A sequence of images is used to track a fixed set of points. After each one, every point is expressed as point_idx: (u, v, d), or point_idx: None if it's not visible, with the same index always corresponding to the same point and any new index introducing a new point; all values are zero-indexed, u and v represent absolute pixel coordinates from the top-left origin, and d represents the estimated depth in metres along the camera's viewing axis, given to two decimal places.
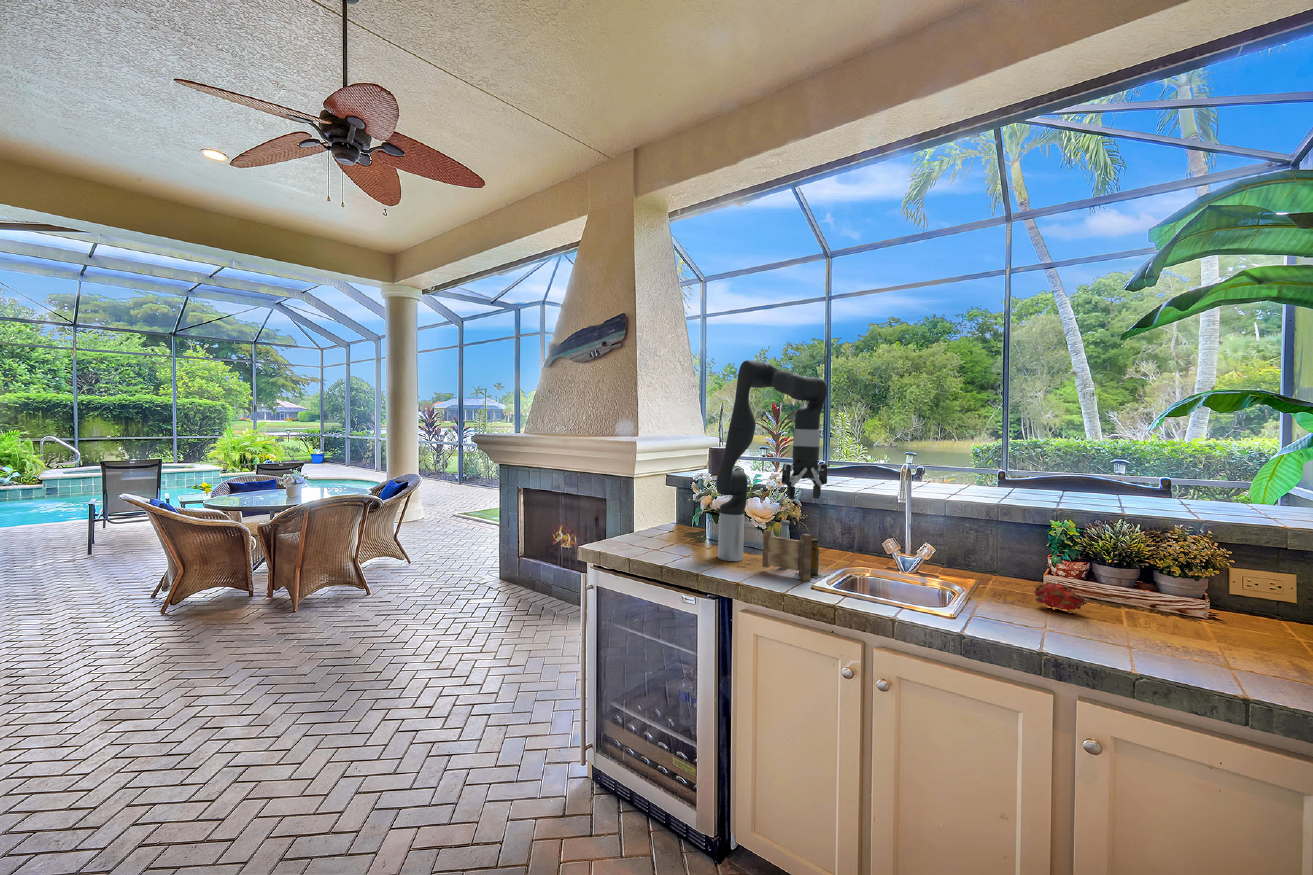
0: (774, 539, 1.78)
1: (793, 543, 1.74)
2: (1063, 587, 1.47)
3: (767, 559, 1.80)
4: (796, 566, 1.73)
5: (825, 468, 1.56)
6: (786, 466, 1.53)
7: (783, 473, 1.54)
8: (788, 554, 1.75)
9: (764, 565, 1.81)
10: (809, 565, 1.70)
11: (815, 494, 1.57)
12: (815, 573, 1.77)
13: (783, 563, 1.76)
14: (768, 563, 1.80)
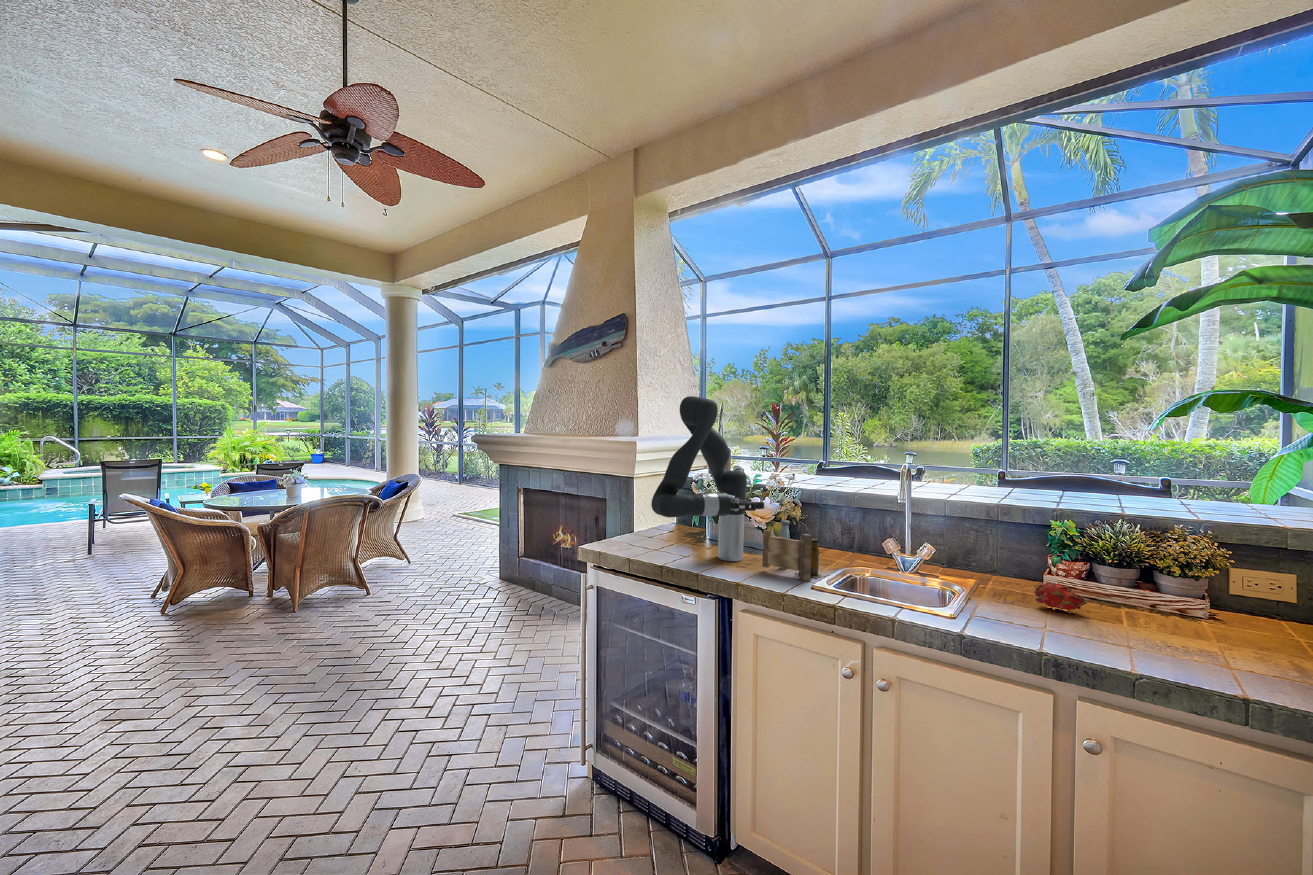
0: (774, 539, 1.78)
1: (793, 543, 1.74)
2: (1063, 587, 1.47)
3: (767, 559, 1.80)
4: (796, 566, 1.73)
5: (742, 510, 1.65)
6: None
7: None
8: (788, 554, 1.75)
9: (764, 565, 1.81)
10: (809, 565, 1.70)
11: None
12: (815, 573, 1.77)
13: (783, 563, 1.76)
14: (768, 563, 1.80)
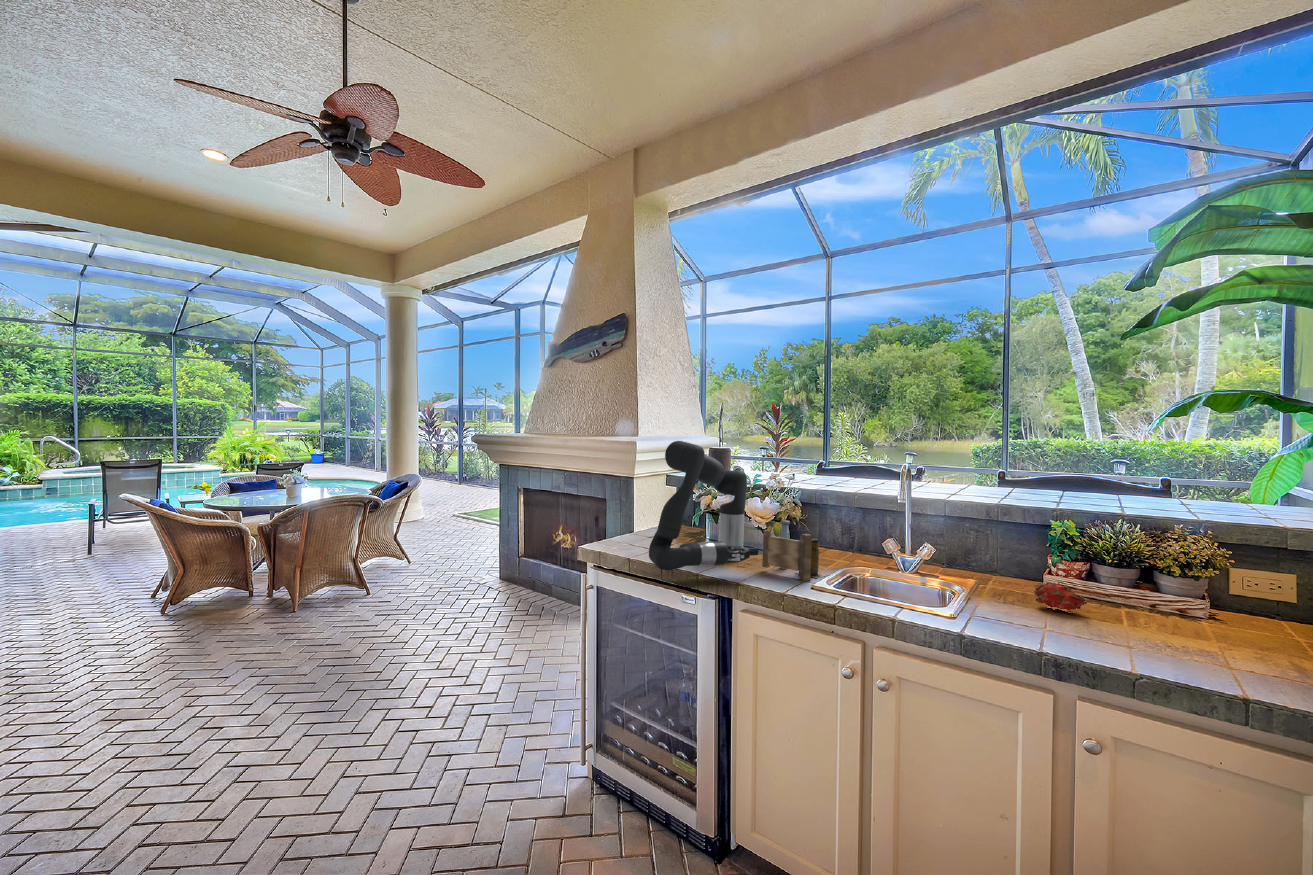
0: (774, 539, 1.78)
1: (793, 543, 1.74)
2: (1063, 587, 1.47)
3: (767, 559, 1.80)
4: (796, 566, 1.73)
5: None
6: None
7: None
8: (788, 554, 1.75)
9: (764, 565, 1.81)
10: (809, 565, 1.70)
11: None
12: (815, 573, 1.77)
13: (783, 563, 1.76)
14: (768, 563, 1.80)
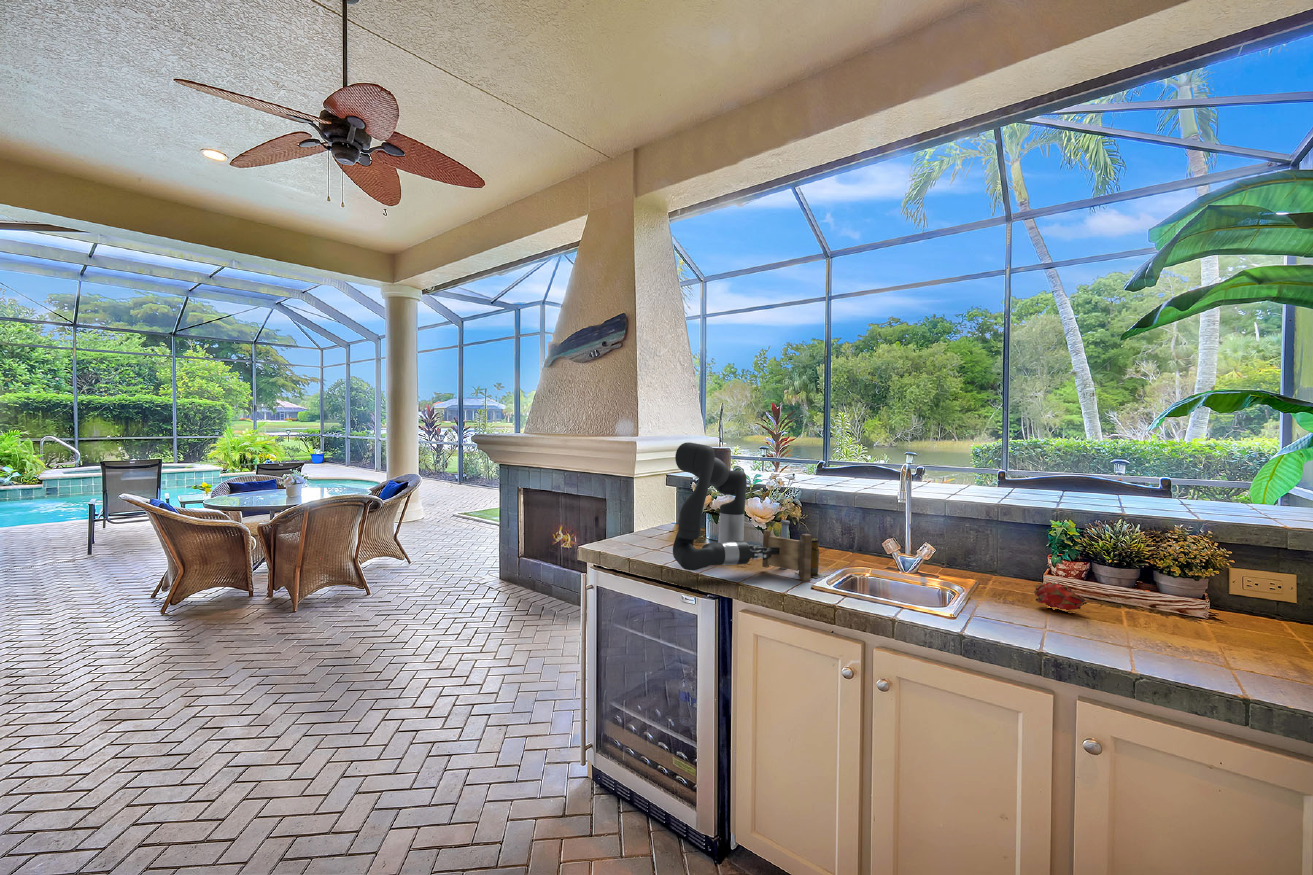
0: (774, 539, 1.78)
1: (793, 543, 1.74)
2: (1063, 587, 1.47)
3: (767, 559, 1.80)
4: (796, 566, 1.73)
5: None
6: None
7: None
8: (788, 554, 1.75)
9: (764, 565, 1.81)
10: (809, 565, 1.70)
11: None
12: (815, 573, 1.77)
13: (783, 563, 1.76)
14: (768, 563, 1.80)
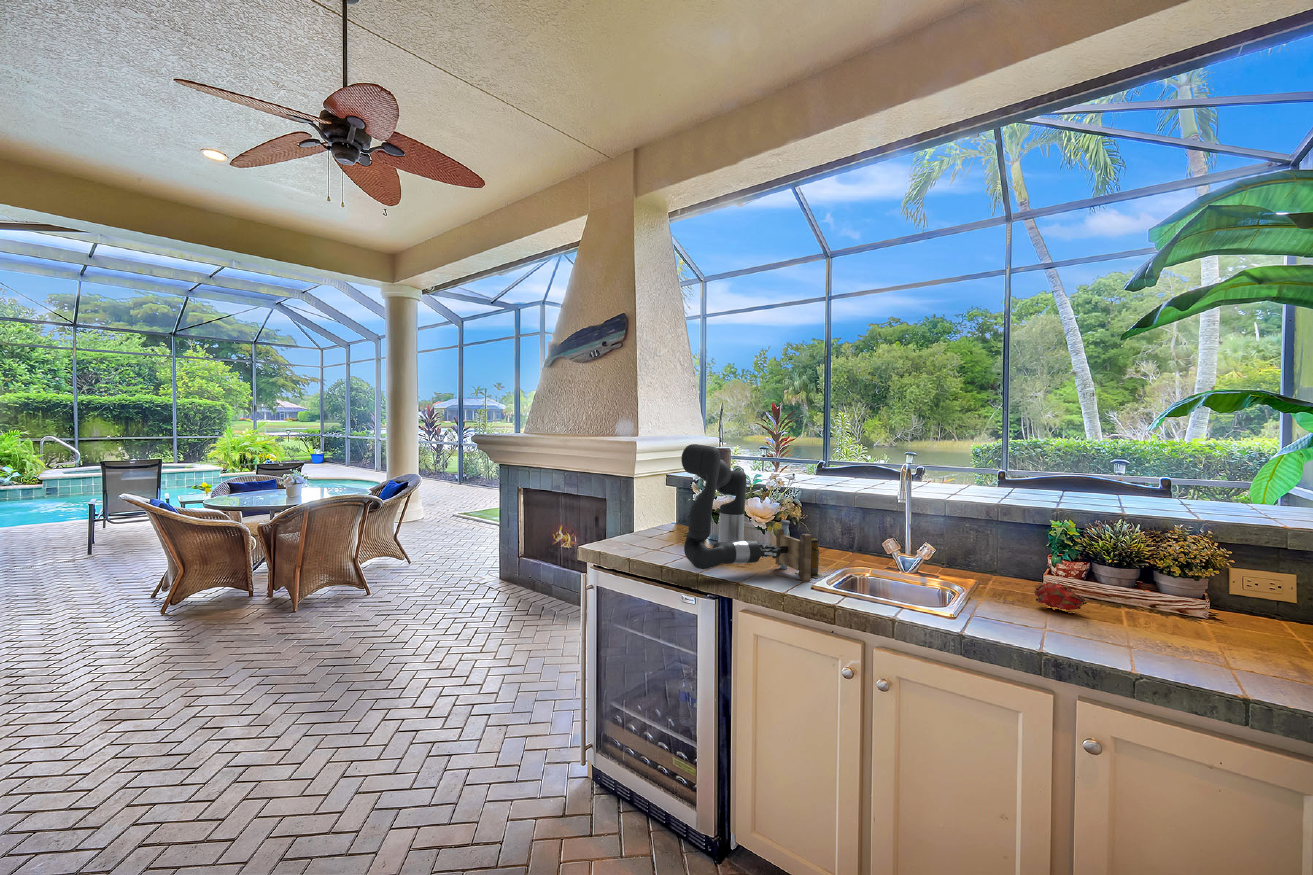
0: (783, 538, 1.82)
1: (795, 542, 1.75)
2: (1063, 587, 1.47)
3: (778, 557, 1.84)
4: (797, 566, 1.74)
5: None
6: None
7: None
8: (792, 553, 1.77)
9: (776, 562, 1.85)
10: (809, 565, 1.70)
11: None
12: (815, 573, 1.77)
13: (788, 561, 1.78)
14: (779, 561, 1.84)
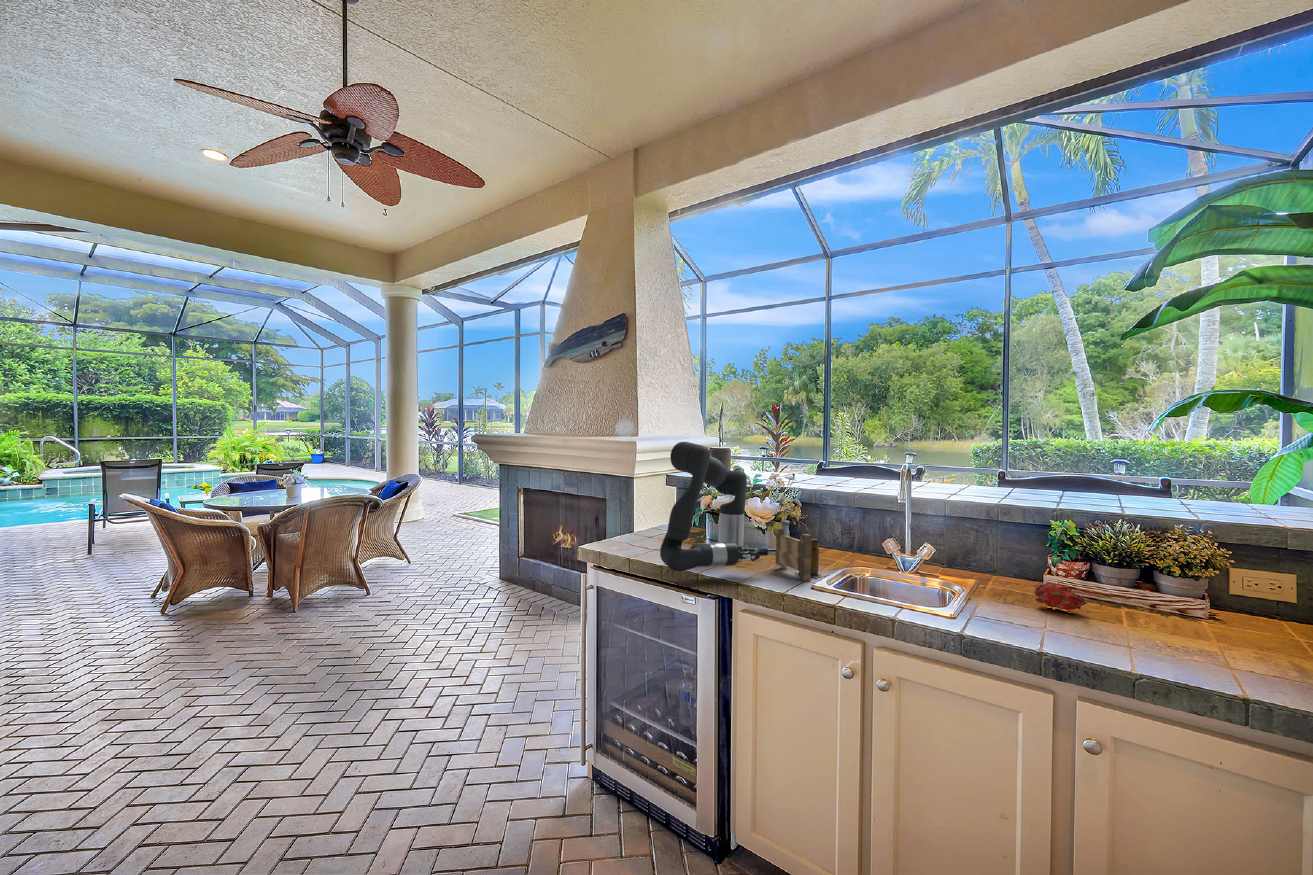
0: (783, 538, 1.82)
1: (795, 542, 1.75)
2: (1063, 587, 1.47)
3: (778, 557, 1.84)
4: (797, 566, 1.74)
5: None
6: None
7: None
8: (792, 553, 1.77)
9: (776, 562, 1.85)
10: (809, 565, 1.70)
11: None
12: (815, 573, 1.77)
13: (788, 561, 1.78)
14: (779, 561, 1.83)
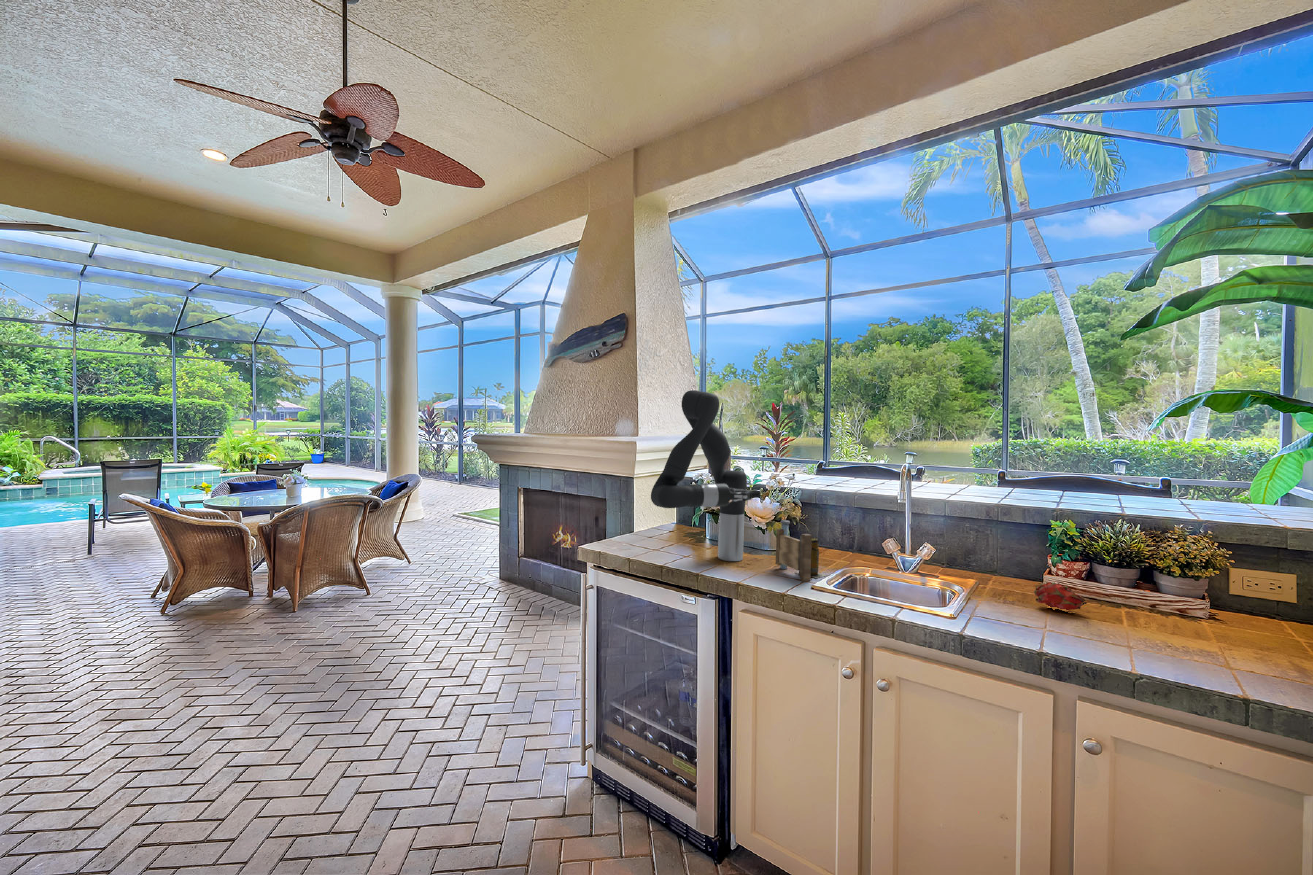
0: (783, 538, 1.82)
1: (795, 542, 1.75)
2: (1063, 587, 1.47)
3: (778, 557, 1.84)
4: (797, 566, 1.74)
5: None
6: None
7: None
8: (792, 553, 1.77)
9: (776, 562, 1.85)
10: (809, 565, 1.70)
11: None
12: (815, 573, 1.77)
13: (788, 561, 1.78)
14: (779, 561, 1.83)
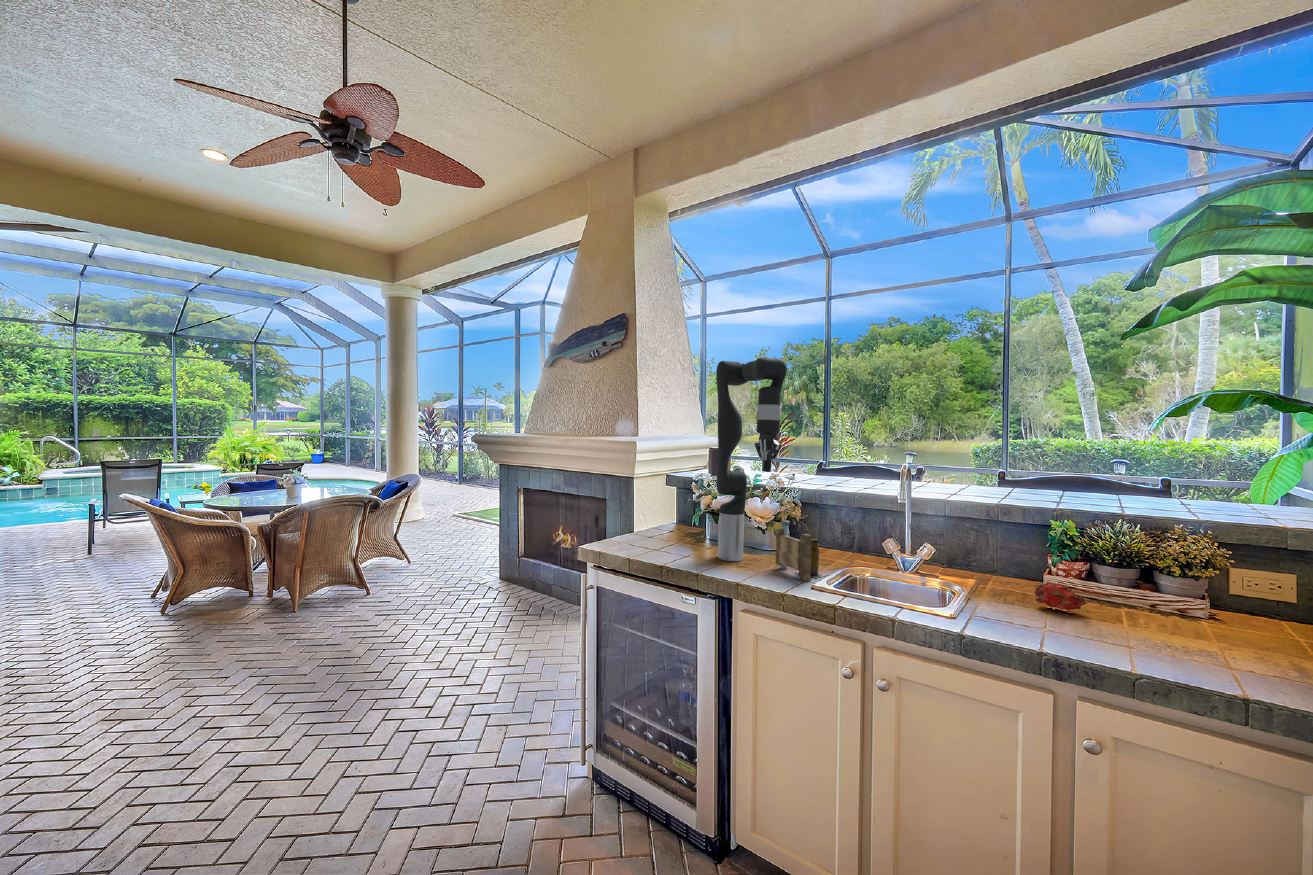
0: (783, 538, 1.82)
1: (795, 542, 1.75)
2: (1063, 587, 1.47)
3: (778, 557, 1.84)
4: (797, 566, 1.74)
5: (773, 447, 1.67)
6: None
7: None
8: (792, 553, 1.77)
9: (776, 562, 1.85)
10: (809, 565, 1.70)
11: None
12: (815, 573, 1.77)
13: (788, 561, 1.78)
14: (779, 561, 1.83)
